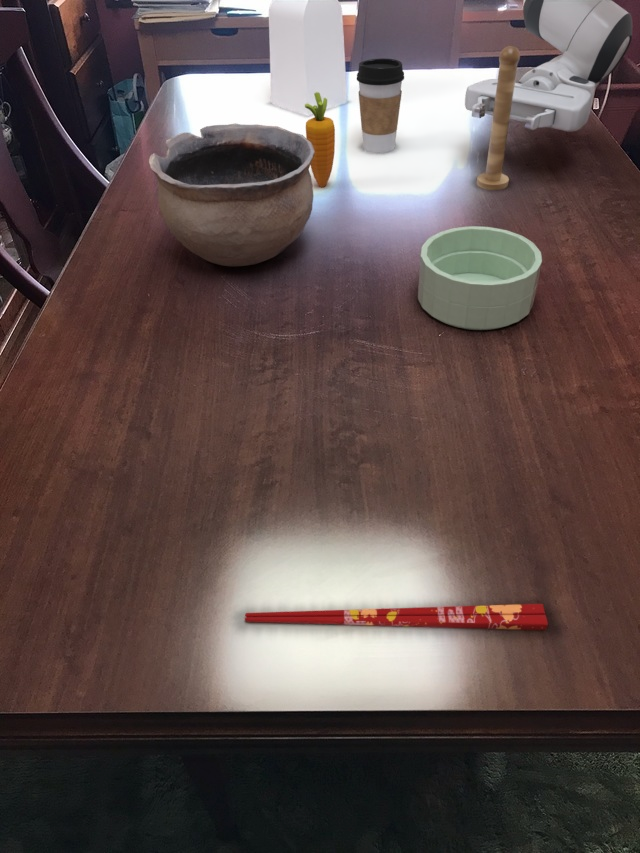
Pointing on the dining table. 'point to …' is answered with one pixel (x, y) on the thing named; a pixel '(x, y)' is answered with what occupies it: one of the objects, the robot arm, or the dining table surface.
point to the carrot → (321, 141)
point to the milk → (306, 54)
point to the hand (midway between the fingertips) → (501, 118)
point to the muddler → (500, 121)
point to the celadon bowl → (478, 277)
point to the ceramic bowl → (235, 191)
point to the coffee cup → (379, 102)
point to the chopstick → (421, 617)
